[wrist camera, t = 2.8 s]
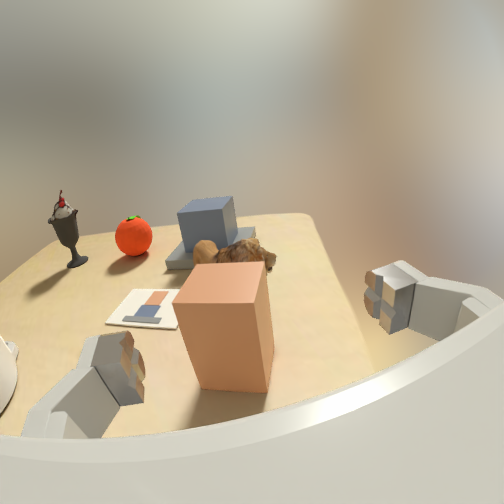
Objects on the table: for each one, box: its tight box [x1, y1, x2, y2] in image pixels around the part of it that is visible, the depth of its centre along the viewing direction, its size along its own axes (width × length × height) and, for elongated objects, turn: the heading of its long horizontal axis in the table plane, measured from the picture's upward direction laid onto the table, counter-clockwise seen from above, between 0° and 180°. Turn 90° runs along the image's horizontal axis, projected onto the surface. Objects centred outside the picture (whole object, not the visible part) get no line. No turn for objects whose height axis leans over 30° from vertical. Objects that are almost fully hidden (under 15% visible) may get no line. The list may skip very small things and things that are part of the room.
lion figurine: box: [193, 238, 276, 276], centre depth 33 cm, size 15×5×9 cm, turn 44°
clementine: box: [115, 216, 152, 256], centre depth 51 cm, size 8×7×7 cm
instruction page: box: [105, 289, 180, 329], centre depth 36 cm, size 10×8×1 cm
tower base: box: [165, 196, 256, 269], centre depth 47 cm, size 12×12×8 cm
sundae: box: [48, 190, 88, 268], centre depth 50 cm, size 7×7×15 cm
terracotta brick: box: [172, 261, 274, 393], centre depth 23 cm, size 6×6×9 cm
